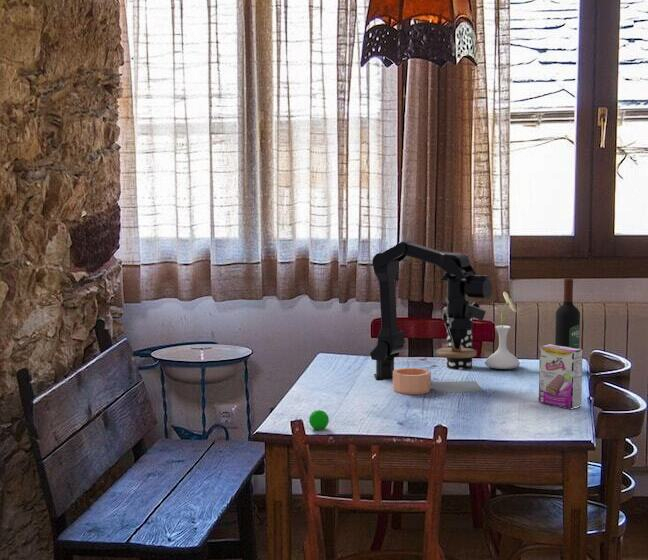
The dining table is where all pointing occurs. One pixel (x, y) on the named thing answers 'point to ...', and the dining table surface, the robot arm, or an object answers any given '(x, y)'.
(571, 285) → the wine bottle
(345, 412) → the dining table surface
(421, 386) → the bowl
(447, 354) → the lid
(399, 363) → the dining table surface
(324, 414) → the green ball
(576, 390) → the candy bar box
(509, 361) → the flower in vase
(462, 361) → the spotted tube
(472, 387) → the mat
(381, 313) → the robot arm
